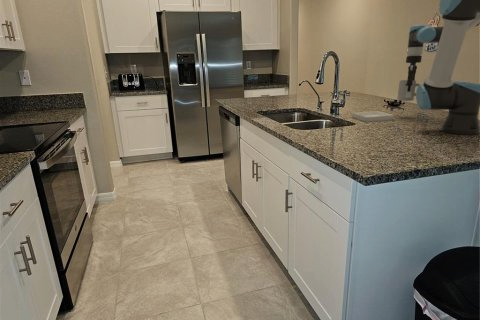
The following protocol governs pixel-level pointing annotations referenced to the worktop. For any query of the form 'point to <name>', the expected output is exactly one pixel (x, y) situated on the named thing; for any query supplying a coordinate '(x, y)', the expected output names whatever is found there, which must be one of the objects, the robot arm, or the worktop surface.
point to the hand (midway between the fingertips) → (408, 96)
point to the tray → (372, 116)
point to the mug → (403, 90)
